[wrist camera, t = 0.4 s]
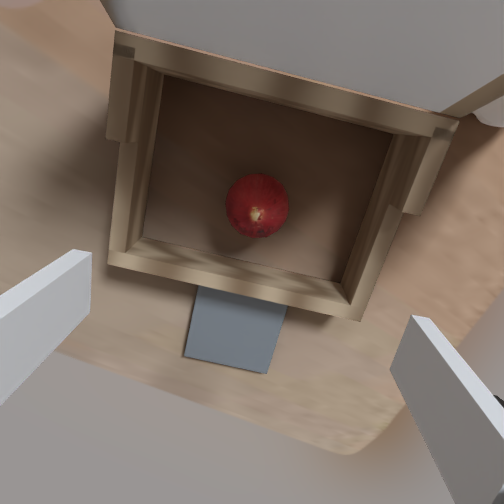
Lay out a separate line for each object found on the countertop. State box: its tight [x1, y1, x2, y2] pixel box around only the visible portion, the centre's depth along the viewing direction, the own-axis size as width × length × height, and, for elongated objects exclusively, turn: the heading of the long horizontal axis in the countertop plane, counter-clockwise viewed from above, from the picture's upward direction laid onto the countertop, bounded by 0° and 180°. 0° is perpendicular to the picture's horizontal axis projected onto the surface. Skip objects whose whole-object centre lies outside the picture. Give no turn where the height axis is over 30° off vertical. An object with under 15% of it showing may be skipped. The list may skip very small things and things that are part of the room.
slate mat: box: [184, 285, 288, 374], centre depth 41 cm, size 10×10×1 cm
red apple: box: [226, 173, 289, 238], centre depth 32 cm, size 6×6×8 cm
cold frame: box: [105, 30, 460, 322], centre depth 32 cm, size 25×19×8 cm
